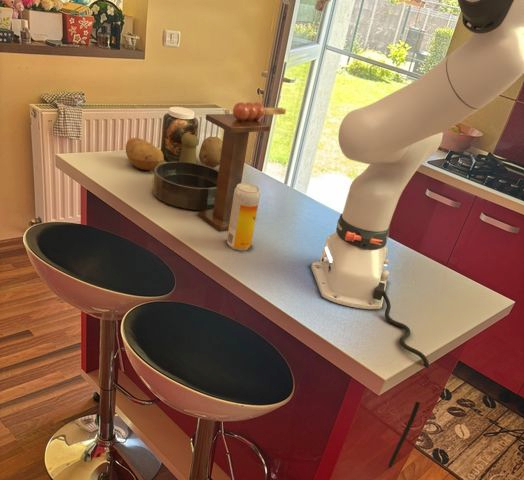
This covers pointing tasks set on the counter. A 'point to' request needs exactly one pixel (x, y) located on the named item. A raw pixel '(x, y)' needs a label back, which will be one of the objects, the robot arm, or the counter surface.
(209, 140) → the round brown potato
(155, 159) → the potato
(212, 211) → the walnut stand
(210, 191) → the round cake pan
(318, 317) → the counter surface
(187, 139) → the cork
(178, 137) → the jar
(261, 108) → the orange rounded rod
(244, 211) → the beer can
